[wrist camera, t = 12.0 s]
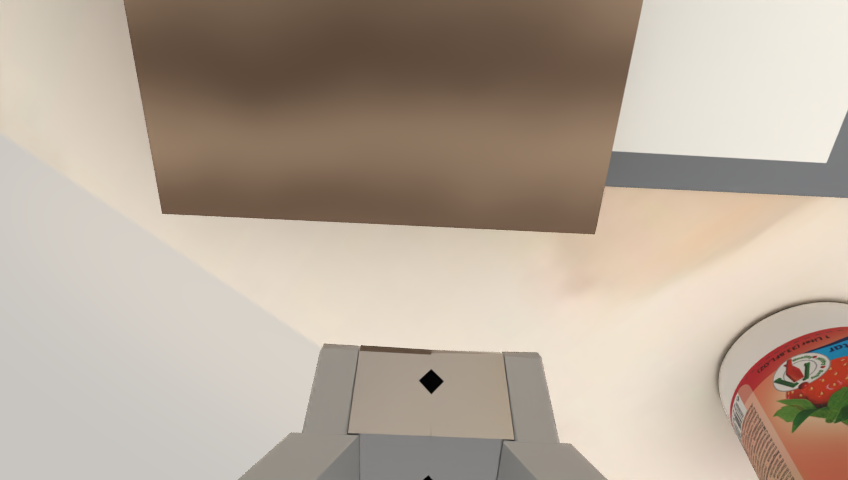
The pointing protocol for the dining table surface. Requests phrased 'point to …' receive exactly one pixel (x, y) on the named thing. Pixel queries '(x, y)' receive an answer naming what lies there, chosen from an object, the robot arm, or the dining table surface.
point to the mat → (734, 172)
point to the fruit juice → (791, 393)
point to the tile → (737, 79)
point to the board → (385, 108)
